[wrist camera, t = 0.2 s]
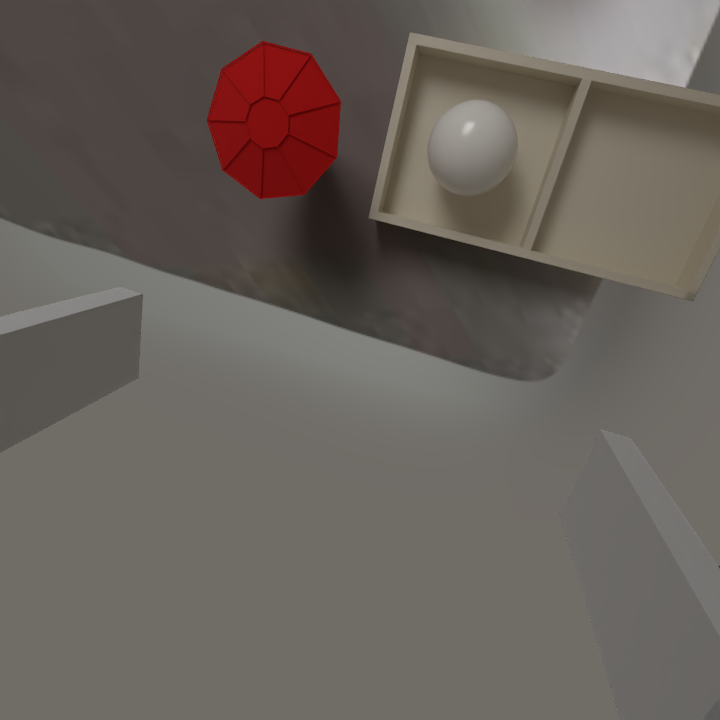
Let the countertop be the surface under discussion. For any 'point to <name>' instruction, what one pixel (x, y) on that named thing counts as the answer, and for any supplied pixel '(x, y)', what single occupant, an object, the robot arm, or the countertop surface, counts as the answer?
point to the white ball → (472, 147)
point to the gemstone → (275, 121)
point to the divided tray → (564, 166)
